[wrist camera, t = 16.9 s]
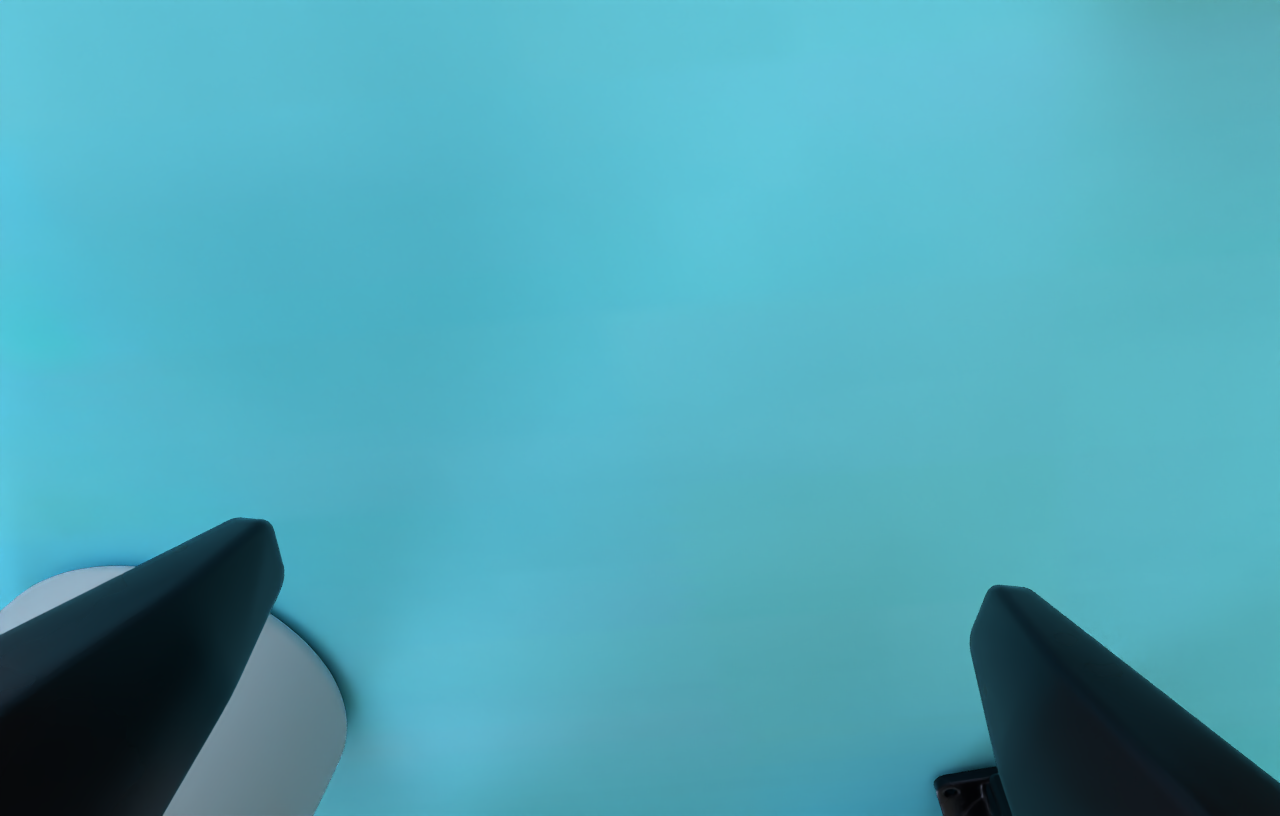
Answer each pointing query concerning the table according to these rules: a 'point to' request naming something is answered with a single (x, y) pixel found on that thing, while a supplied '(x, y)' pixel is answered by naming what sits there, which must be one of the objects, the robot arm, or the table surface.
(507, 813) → the table surface
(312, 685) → the cylinder vase
